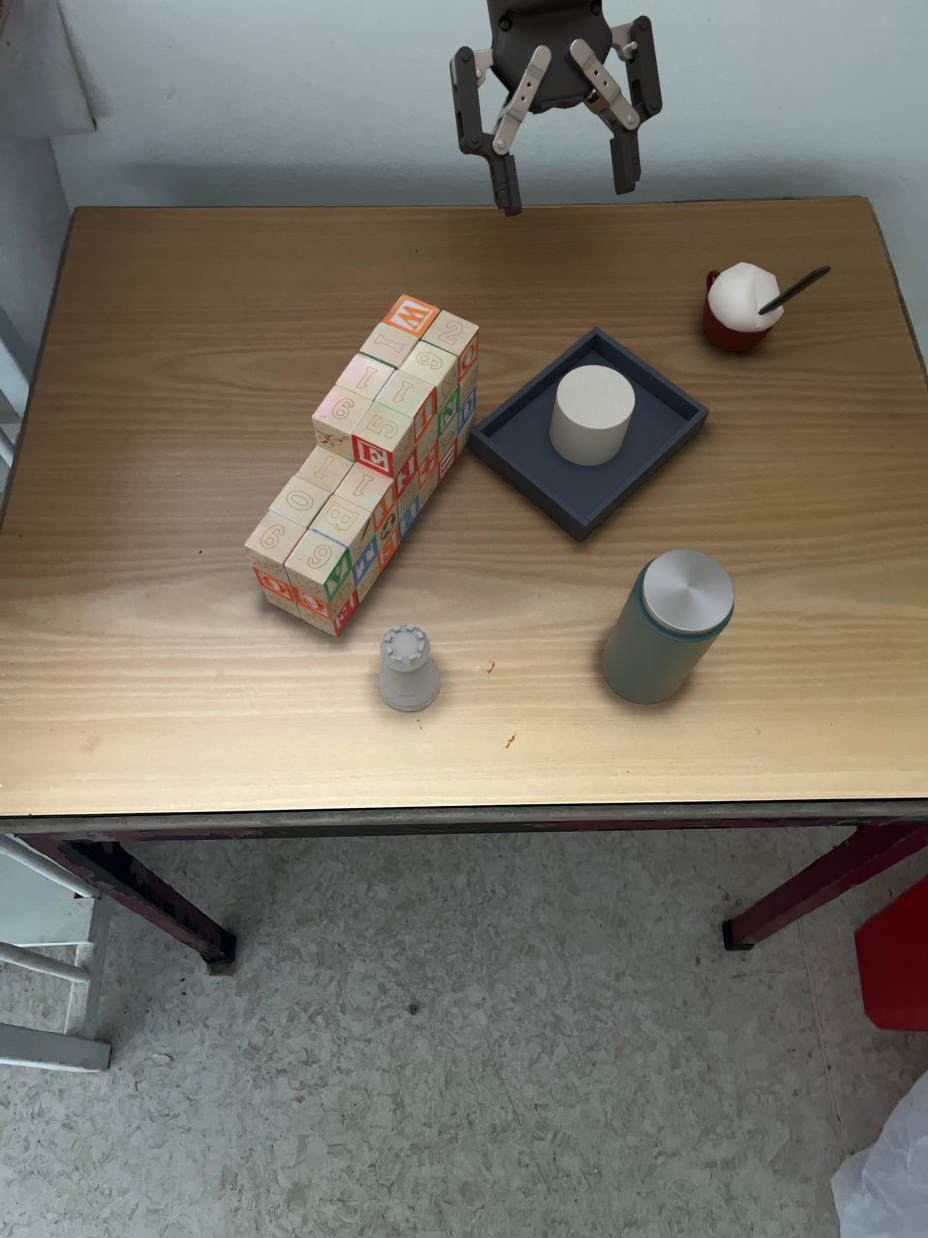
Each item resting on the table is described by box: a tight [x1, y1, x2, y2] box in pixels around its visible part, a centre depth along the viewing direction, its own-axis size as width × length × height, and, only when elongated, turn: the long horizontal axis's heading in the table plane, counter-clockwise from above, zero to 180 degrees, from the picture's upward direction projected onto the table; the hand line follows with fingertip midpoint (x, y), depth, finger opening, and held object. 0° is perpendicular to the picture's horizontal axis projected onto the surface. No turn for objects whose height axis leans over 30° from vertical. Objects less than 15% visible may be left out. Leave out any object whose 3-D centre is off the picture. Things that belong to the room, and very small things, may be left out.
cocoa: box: [701, 261, 832, 352], centre depth 69 cm, size 10×6×12 cm, turn 5°
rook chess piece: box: [377, 623, 441, 712], centre depth 57 cm, size 4×4×8 cm
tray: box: [468, 325, 711, 543], centre depth 69 cm, size 15×12×2 cm
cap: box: [550, 365, 635, 466], centre depth 67 cm, size 6×6×5 cm
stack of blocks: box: [243, 293, 480, 638], centre depth 61 cm, size 21×6×12 cm, turn 152°
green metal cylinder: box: [600, 548, 735, 705], centre depth 56 cm, size 6×6×13 cm
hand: (570, 204), depth 61 cm, fingers open, 8 cm apart
